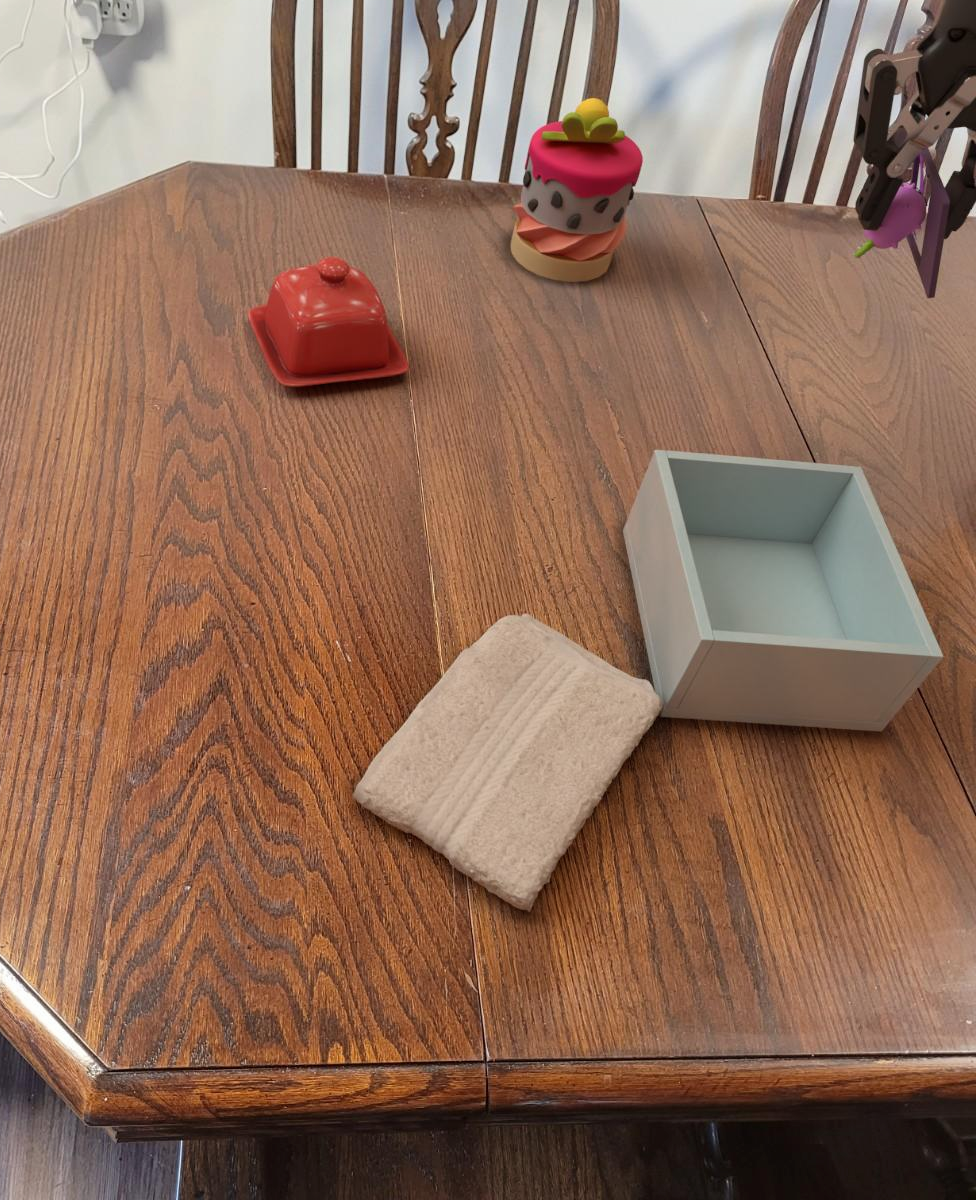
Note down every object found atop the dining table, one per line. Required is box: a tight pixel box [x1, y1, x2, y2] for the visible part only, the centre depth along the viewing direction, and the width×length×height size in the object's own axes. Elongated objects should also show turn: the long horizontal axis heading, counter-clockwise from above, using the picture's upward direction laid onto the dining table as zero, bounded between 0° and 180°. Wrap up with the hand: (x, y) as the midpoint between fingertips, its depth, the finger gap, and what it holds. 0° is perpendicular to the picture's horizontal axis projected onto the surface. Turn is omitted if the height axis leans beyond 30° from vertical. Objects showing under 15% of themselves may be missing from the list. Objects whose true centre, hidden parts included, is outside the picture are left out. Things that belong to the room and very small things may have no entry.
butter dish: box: [247, 256, 410, 388], centre depth 85 cm, size 12×12×8 cm
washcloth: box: [352, 613, 663, 913], centre depth 62 cm, size 12×18×3 cm, turn 145°
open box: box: [622, 449, 944, 732], centre depth 69 cm, size 15×17×8 cm
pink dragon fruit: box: [853, 145, 950, 299], centre depth 69 cm, size 7×5×9 cm
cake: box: [510, 97, 644, 283], centre depth 96 cm, size 10×11×15 cm
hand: (901, 227), depth 69 cm, fingers closed on pink dragon fruit, 4 cm apart
